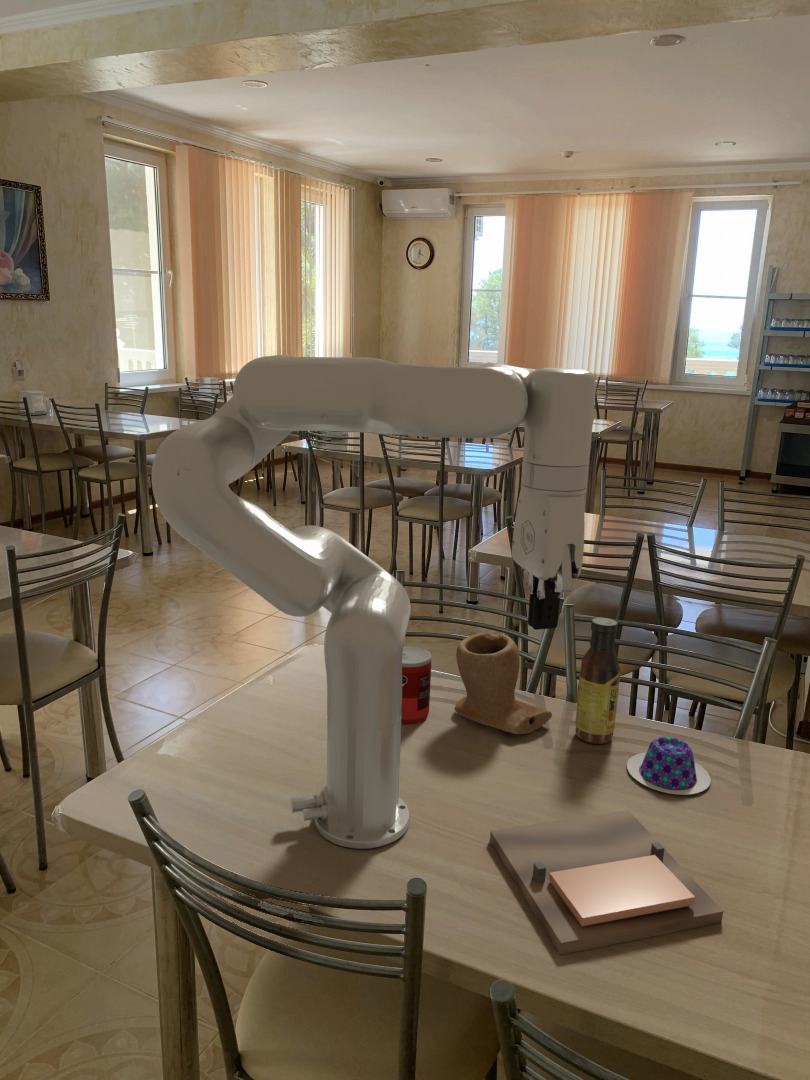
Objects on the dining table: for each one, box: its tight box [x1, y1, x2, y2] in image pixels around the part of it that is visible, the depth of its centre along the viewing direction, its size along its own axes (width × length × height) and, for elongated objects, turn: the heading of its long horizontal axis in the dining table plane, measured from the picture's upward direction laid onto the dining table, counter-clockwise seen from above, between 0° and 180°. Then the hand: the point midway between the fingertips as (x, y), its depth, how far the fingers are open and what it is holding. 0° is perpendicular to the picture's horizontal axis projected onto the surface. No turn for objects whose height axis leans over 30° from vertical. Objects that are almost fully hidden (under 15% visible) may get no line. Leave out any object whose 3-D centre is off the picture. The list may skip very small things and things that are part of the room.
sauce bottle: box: [574, 617, 621, 745], centre depth 129 cm, size 6×6×20 cm
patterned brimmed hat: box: [626, 736, 712, 796], centre depth 120 cm, size 12×12×5 cm
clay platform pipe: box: [454, 632, 553, 735], centre depth 133 cm, size 15×12×15 cm
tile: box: [549, 855, 695, 926], centre depth 92 cm, size 8×14×1 cm, turn 106°
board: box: [489, 809, 724, 955], centre depth 96 cm, size 20×20×3 cm
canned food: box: [401, 645, 432, 725], centre depth 135 cm, size 8×8×11 cm
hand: (542, 626), depth 97 cm, fingers closed
